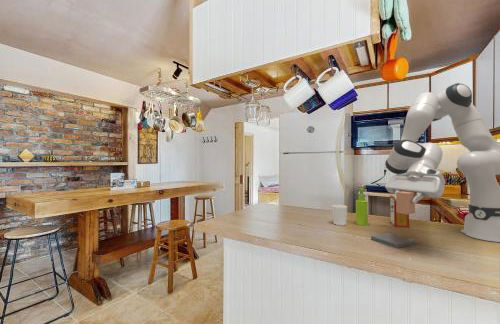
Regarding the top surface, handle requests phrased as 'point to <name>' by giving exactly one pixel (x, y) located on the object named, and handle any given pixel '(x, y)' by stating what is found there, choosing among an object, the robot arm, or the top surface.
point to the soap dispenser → (361, 209)
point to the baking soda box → (397, 215)
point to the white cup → (339, 214)
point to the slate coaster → (393, 240)
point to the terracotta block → (405, 202)
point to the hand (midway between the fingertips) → (404, 201)
